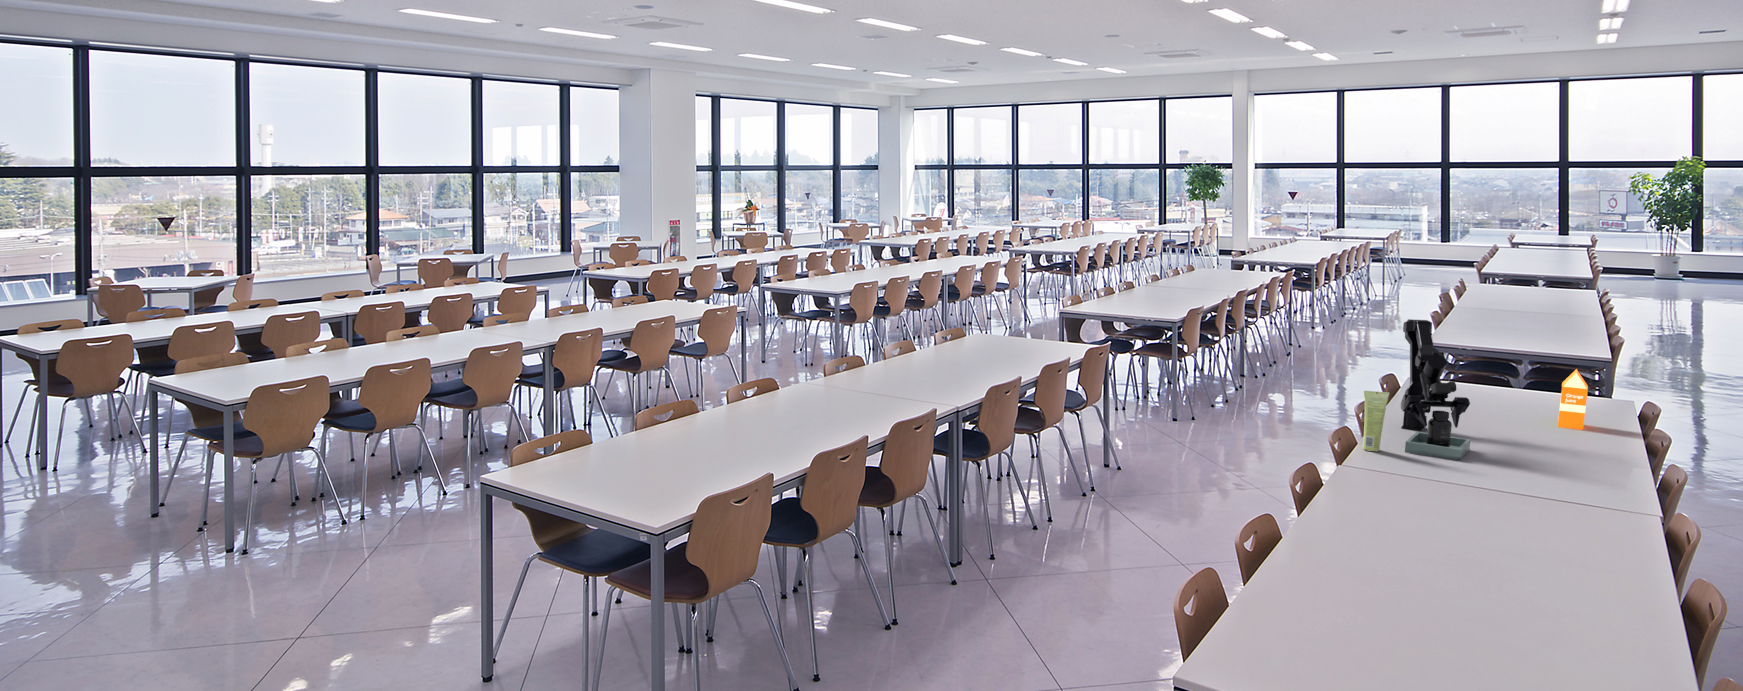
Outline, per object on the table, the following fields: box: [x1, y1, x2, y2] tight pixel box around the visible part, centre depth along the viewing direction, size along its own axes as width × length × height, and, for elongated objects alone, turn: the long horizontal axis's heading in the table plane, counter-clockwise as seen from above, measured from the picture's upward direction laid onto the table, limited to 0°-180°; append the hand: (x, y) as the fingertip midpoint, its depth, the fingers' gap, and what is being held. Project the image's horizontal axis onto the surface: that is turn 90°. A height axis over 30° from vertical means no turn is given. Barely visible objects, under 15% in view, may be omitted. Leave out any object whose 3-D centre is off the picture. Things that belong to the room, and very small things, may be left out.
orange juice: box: [1557, 368, 1589, 431], centre depth 383 cm, size 8×9×20 cm
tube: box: [1362, 390, 1390, 452], centre depth 351 cm, size 6×5×20 cm
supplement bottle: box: [1426, 410, 1453, 447], centre depth 350 cm, size 7×7×12 cm
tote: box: [1404, 431, 1472, 461], centre depth 351 cm, size 16×16×4 cm
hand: (1441, 426), depth 348 cm, fingers open, 9 cm apart
